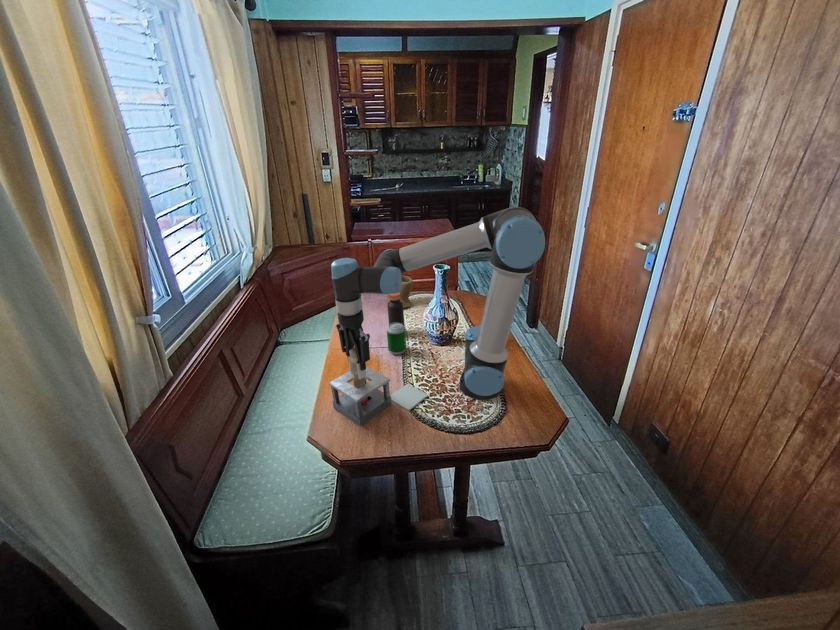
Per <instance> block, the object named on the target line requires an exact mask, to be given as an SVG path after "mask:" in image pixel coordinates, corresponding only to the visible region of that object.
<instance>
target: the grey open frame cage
mask: <svg viewBox="0 0 840 630" xmlns="http://www.w3.org/2000/svg"><path fill="white" fill-rule="evenodd" d="M364 380H365V385H364V386H362V387H360V388H359V389H358V388H356V387H354V384H351V382H353V374H352V375H351V374H350V370H348V371H346V372H345V373H343V374H342V375H340V376H337V378H335V379H333V380H332V381H330V382H329V383H328V384H329V386H330V387H331V393H332V401H331V402H332V408H333V409H335V410H336V411H338V412H339V413H340V414H341V415H343V416H345V417H346V418H348V419H349V420H351V421H352V422H353V423H354V424H356V425H358V426H359V427H362V426H363V425H364V424H367V422H369V421H370V420H371V419H373V418H374V417H376V416H378V414H380V413H382V412H383V411H384V410H386V409H387V408H388V407H390V406H391V405H392V404H393V401H392V400H391V396H390V395H391V394H390V383H389V382H390V381H391V380H390V378H388V377H387V376H386V375H383V374H382V373H380V372H378V371H376V370H374V369H372V368H370V367H369V366H368V365H366V376H365V377H364ZM367 380H368V382H367ZM380 388H382V390H383V391H381V390H380ZM339 393H341V395H339ZM367 396H368V401H367V402H366V403H364V404H363V405H361V400H362V399H364V398H365V397H367Z"/></svg>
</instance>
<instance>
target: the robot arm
mask: <svg viewBox="0 0 840 630" xmlns="http://www.w3.org/2000/svg"><path fill="white" fill-rule="evenodd" d="M545 247H546V237H545V232H544V230H543V227H542V226H541V224H540V223H539V222H538V220H536V217H535V215H534V214H533V213H532V212H531V211H530V210H528V209H527V208H524V207H521V206H513V207H508V208H505V209H501V210H499V211H496V212H493V213H490V214H487V215H485V216H483V217H481V218H480V220H479V221H478V222H475V223H473V224H469V225H465V226H463V227H460V228H458V229H454V230H451V231H448V232H445V233H441V234H438V235H437V236H436V235H435V236H433V237H430V238H428V239H424V240H421V241H418V242H414V243H411V244H409V245H406V246H404V247H401V248H397V249H396V248H395V249H393V248H388V249H386V250H384V251H382V252H381V253H380V254H379V256H378V258H377V259H376V261H375V263H374V265H372V266H359V264H358V261H357V260H356V259H355V258H351V257H343V258H342V257H341V258H338V259H335V260H334V261H332V263H331V265H330V267H331V268H330V270H331V279H332V280H331V281H332V286H333V287H332V288H333V292H334V298H335V299H334V300H335V307H336V312H337V313H336V314H337V319H338V323H337V324H336V325H335V326H336V330H337V332H338V337H339V342H340V346H341V352H342V353H345V355H346V357H347V363H348V367H349V371H350V374H351V375H352V367H351V360H350V353H349V350H350V349H351V348H353V347H355V351H356V355H357V359H358V361H357V362H356V363H357V371H358V379H362V378H363V377H365V376H366V366H367V365H366V364H367V362H369V361H370V359H371V354H370V338H371V336H370V334H369V333H366V332H364V328H363V326H362V325H363V323H364V320H365V319H364V311H363V310H364V309H363V302H362V294H374V295H376V294H379V295H389V294H396V293H399V292H400V290H401V284H402V276H403V275H402V274H404V273H408V272H411V271H414V270H417V269H421V268H422V267H423V268H424V267H426V266H430V265H433V264H436V263H439V262H442V261H446V260H449V259H452V258H456V257H460V256H463V255H465V254H469V253H472V252H476V251H478V250H481V249H485V248H486V249H487V248H488V249H489V250H491V255H490V259H489V264H490V265H491V267H492V269H493V270H492V274H491V278H490V282H489V288H488V292H487V296H486V300H485V302H484V303H485V304H484V309H483V313H482V315H481V316H482V317H481V321H480V325H477V326H473V327H469V328H468V329H467V330H466V331H465V335H464V341H465V342H464V343H465V345H464V347H465V348H464V367H463V370H462V373H461V374H460V377H459V388H460V391H461V392H462V393H463V394H464V395H465V396H467V397H469V398H471V399H474V400H475V399H476V400H483V401H484V400H491V399H494V398H496V397H498V396H499V395H500V394H501V393H502V390H503V387H504V386H505V385H504V384H505V379H506V378H505V368H506V365H507V362H508V358H509V352H508V350H507V349H506V346H507V343H508V339H509V335H510V332H511V328H512V325H513V321H514V318H515V315H516V310H517V307H518V304H519V302H520V301H519V300H520V296H521V293H522V290H523V286H524V282H525V279H526V277H527V276H528V275H530V274H532V273H533V272H534V270H535V267H536V262H538V261H539V260H540V259H541V257H542V256H543V253H544V251H545Z"/></svg>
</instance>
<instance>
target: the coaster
mask: <svg viewBox="0 0 840 630" xmlns="http://www.w3.org/2000/svg"><path fill="white" fill-rule="evenodd" d="M390 396H391V400H392V403H394V404H396V405H398V406H400V407H401V408H403V409H405V410H406V411H408V412H410V411H411V410H413V409H414V407H416V406H418V405H419V404H420V403H421V402H422V401H424V400H425V399H426V398H428V397H429V394H428V393H426V392H424V391H422V390H421V389H418V387H415V386H413V385H411V384H409V383H406V384H405V385H403V386H402V387H400V388H399V389H398V390H396V391H395V392H393V393H392V394H390Z"/></svg>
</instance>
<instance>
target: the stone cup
mask: <svg viewBox="0 0 840 630" xmlns="http://www.w3.org/2000/svg"><path fill="white" fill-rule="evenodd" d="M401 276H402V284H401V290H400V301H401V302H402V303H403V309H406V308H408V307H410V306H412V302H411V300H410V299H409V297H410V294H411V292H412V289H413V284H414V282H413V279H412V278H411V277H410V276H406V275H401ZM385 298H386V299H387V301H388V303H389V302H390V300H389V294H386V296H385Z"/></svg>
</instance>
